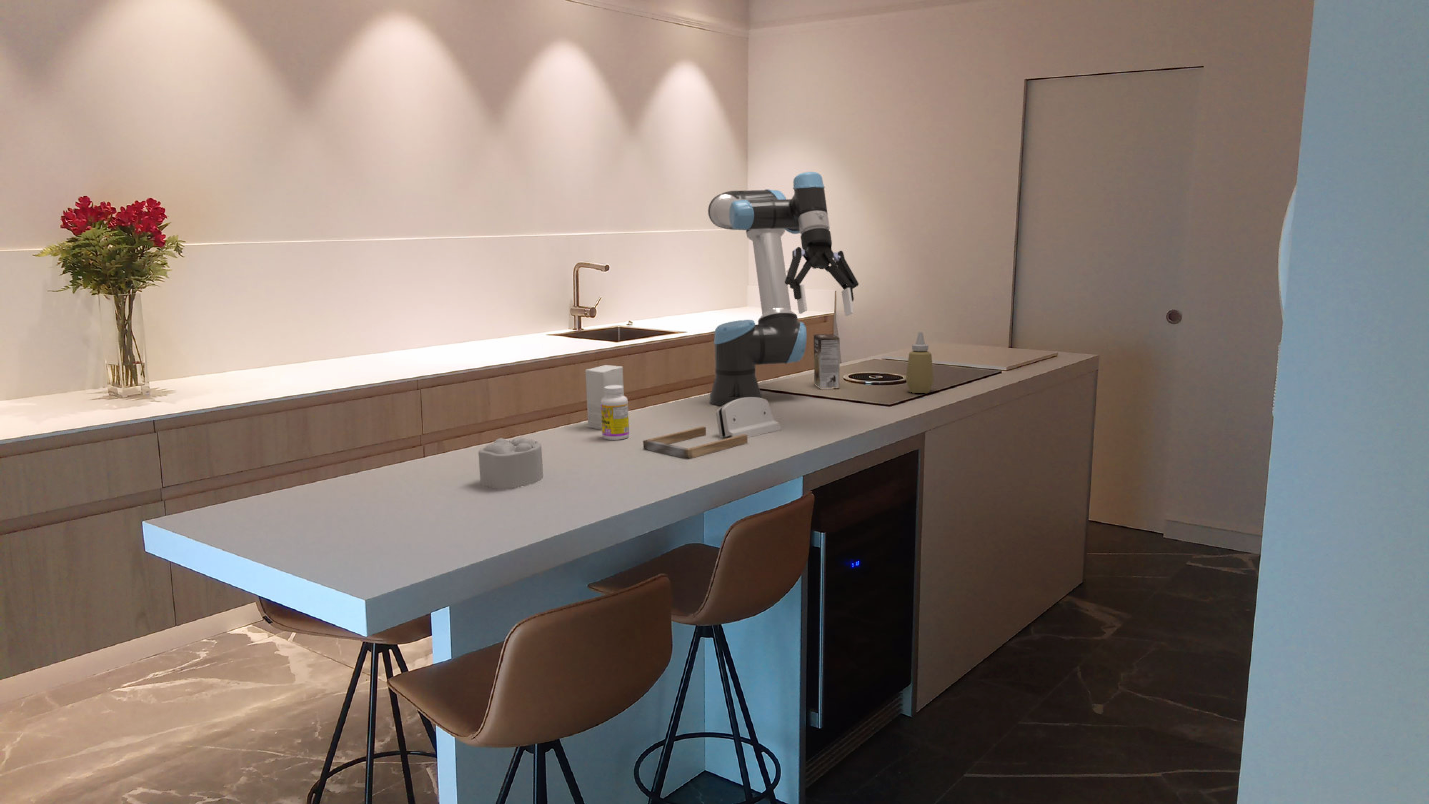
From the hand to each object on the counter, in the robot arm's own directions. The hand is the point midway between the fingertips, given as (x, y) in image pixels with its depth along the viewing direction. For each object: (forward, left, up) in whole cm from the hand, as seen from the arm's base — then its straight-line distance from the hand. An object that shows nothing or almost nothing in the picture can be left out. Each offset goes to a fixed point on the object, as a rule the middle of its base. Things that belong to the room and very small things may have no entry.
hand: (826, 313), depth 235 cm
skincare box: (-47, -33, -29) cm, 64 cm away
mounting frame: (-13, -34, -29) cm, 46 cm away
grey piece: (-13, -16, -29) cm, 36 cm away
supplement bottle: (-35, -40, -29) cm, 61 cm away
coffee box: (-37, +47, -29) cm, 67 cm away
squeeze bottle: (-9, +56, -29) cm, 64 cm away
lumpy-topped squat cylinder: (-21, -79, -29) cm, 87 cm away
